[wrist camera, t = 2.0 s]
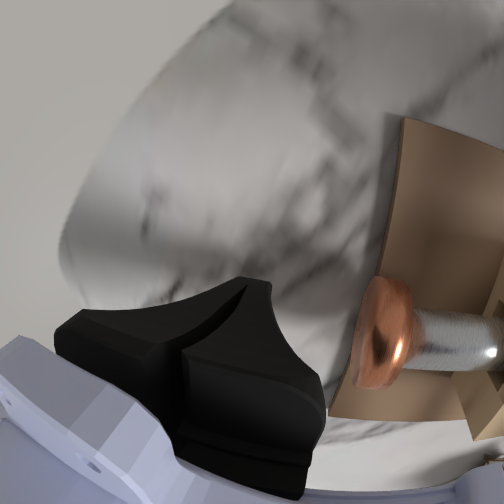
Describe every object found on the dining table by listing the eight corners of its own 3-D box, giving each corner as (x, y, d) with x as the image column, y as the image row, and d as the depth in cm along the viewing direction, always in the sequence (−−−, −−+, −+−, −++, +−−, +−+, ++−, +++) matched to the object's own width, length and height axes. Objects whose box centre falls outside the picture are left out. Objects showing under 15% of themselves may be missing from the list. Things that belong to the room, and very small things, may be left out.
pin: (532, 289, 9) (574, 329, 5) (502, 355, 10) (530, 403, 7) (372, 259, 11) (394, 312, 7) (348, 343, 12) (351, 411, 8)
